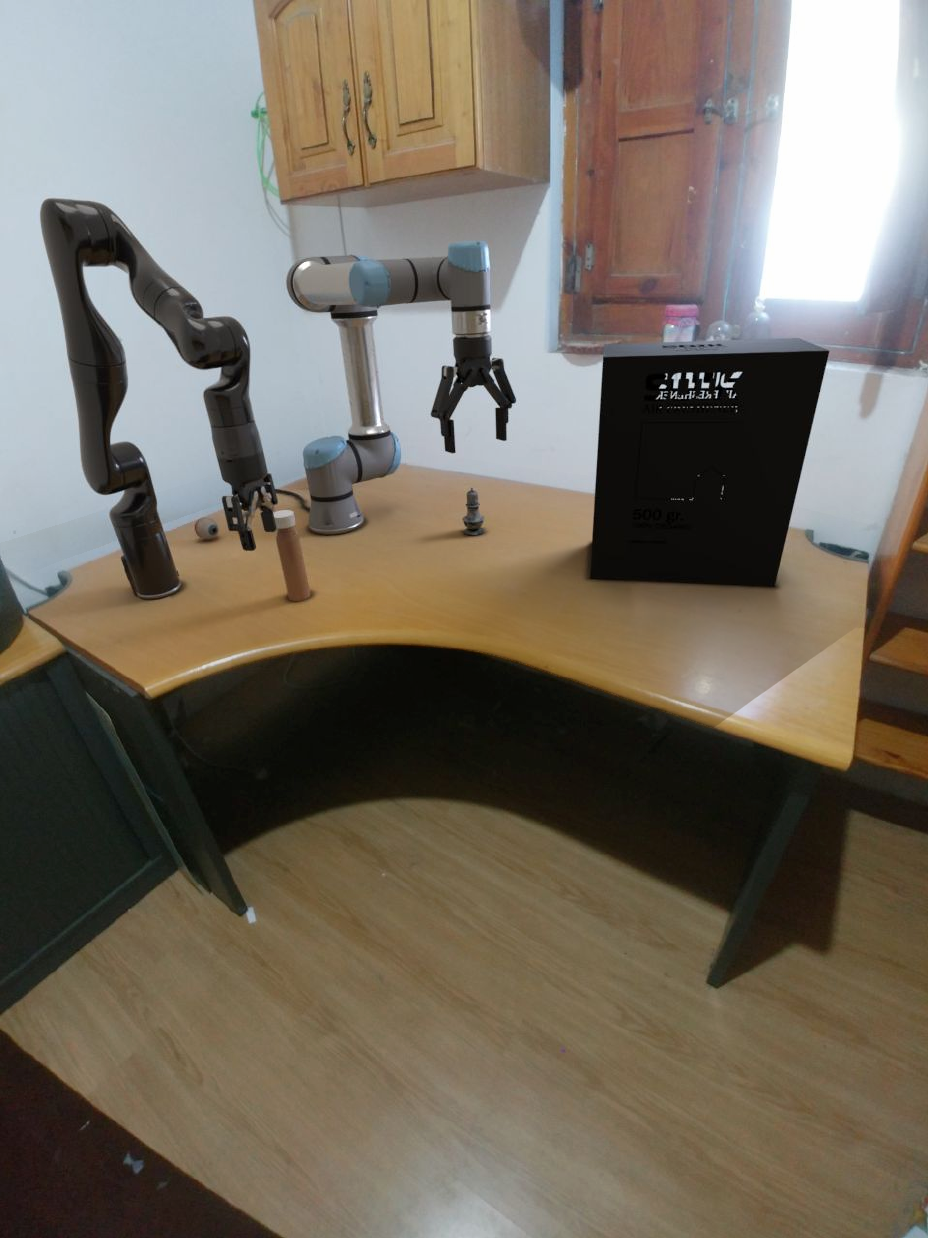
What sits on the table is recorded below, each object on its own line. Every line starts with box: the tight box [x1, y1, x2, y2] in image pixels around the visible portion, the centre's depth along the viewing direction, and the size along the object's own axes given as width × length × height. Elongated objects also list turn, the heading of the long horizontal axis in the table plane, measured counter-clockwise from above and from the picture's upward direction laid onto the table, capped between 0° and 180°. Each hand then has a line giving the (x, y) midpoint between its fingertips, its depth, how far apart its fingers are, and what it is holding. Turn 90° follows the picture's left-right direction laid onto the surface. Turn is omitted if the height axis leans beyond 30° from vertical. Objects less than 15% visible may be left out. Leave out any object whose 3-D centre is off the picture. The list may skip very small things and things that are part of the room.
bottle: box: [275, 526, 311, 602], centre depth 128 cm, size 5×5×19 cm
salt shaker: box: [461, 487, 485, 536], centre depth 157 cm, size 6×6×12 cm
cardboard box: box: [589, 337, 830, 587], centre depth 126 cm, size 38×20×45 cm, turn 78°
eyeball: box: [194, 516, 220, 541], centre depth 163 cm, size 6×6×6 cm
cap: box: [273, 509, 296, 529], centre depth 124 cm, size 4×4×2 cm
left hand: (260, 540), depth 109 cm, fingers open, 8 cm apart
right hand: (476, 445), depth 127 cm, fingers open, 13 cm apart
